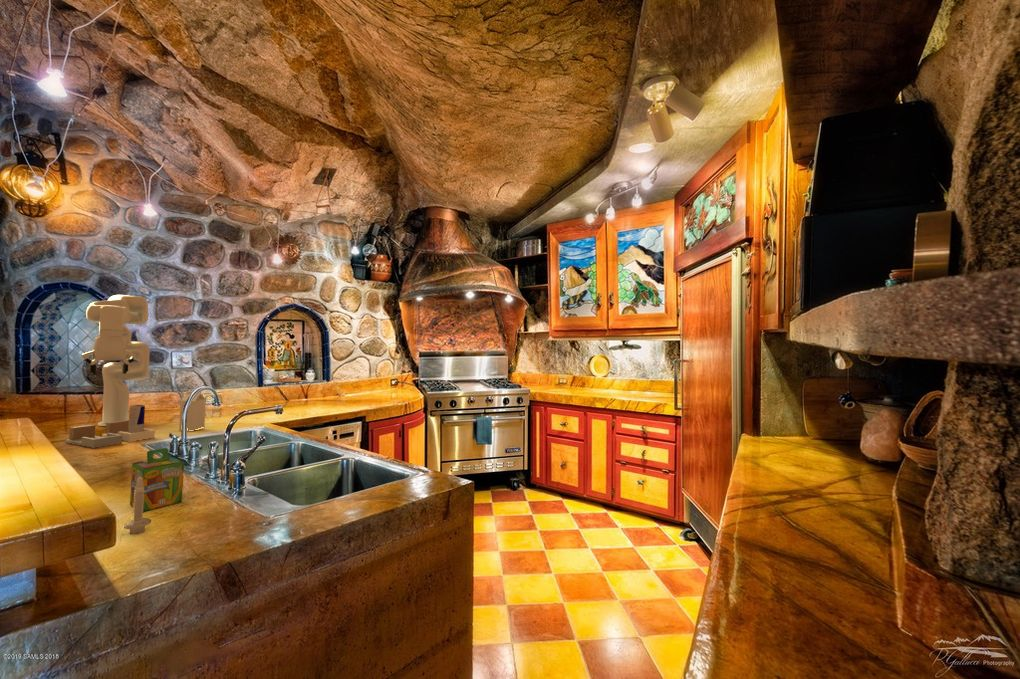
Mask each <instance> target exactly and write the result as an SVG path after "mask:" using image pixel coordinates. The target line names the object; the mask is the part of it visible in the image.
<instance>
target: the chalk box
mask: <svg viewBox="0 0 1020 679" xmlns="http://www.w3.org/2000/svg"><path fill="white" fill-rule="evenodd" d="M156 454H161V455H162V456H161V457H158V458H154V455H156ZM146 458H147V459H146V460H139V461H136V462H135V461H134V462H132V463H131V481H130V497H129V498H130V501H129V505H130V506H132V507H133V508H134V504H133V503H134V502H135V501H134V500H135V499H134V498H135V496H134V495H135V494H134V493H135V491H134V490H135V489H136V483H137V478H139V477H142V478H143V487H144V490H145V491H144V494H143V495H144V496H143V497H144V499H143V500H144V501H143V502H144V504H143V505H144V506H143V507H144V508H143V510H144V511H143V512H147V511H151V510H154V509H160V508H164V507H169V506H171V505H172V504H173V505H176V503H177V504H180V503H182V502H183V501H182V500H183V488H184V487H183V486H184V485H183V484H184V483H183V482H184V470H185V462H184V461H183V460H180V459H179V458H176V457H173V456H169V449H168V448H167V447H165V448H158V449H157V448H156V449H152V450H148V451H147V453H146ZM173 505H172V506H173Z"/></svg>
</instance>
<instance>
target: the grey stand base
mask: <svg viewBox="0 0 1020 679" xmlns="http://www.w3.org/2000/svg"><path fill="white" fill-rule="evenodd" d="M68 432H69V434H68V439H65V442H66V443H65V444H70V443H72V444H71V445H75V444H77V445H76V446H79V445H82V446H81V447H84V446H87V447H86V448H89V447H91V449H96V448H95V447H98V448H103V447H102V446H104V447H109V446H108V445H110V446H114V444H116V445H120V443H121V444H122V443H123V441H122V435H118V434H113V433H107V437H102V436H99V435H96V424H86V425H78V426H69V431H68Z"/></svg>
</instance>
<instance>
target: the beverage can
mask: <svg viewBox="0 0 1020 679" xmlns="http://www.w3.org/2000/svg"><path fill="white" fill-rule="evenodd" d="M145 411H146V405H145V404H133V405H129V409H128V420H129V427H128V433H136V432H143V431H144V428H145V413H146V412H145Z"/></svg>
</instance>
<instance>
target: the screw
mask: <svg viewBox="0 0 1020 679" xmlns="http://www.w3.org/2000/svg"><path fill="white" fill-rule="evenodd" d="M134 491H135V493H134V494H135V495H134V496H135V498H134V499H135V500H134V501H135V502H134V503H133V504H134V507H133V512H132V514H133V515H132V517H133V518H132V520H129V521H127V522H126V523H125V524H124V525H123V528H124V530H125V529H126V530H129V534H130V535H138V534H141V533H144V532H145V530H146V527H147V525H150V524H152V519H150V518H148V517H144V512H145V511H144V510H143V508H144V507H143V506H144V505H143V504H144V502H143V501H144V500H143V499H144V497H143V496H144V495H143V494H144V491H145V490H144V487H143V478H142V477H139V478H137V483H136V489H135V490H134ZM143 531H144V532H143ZM140 532H141V533H140ZM137 533H138V534H137Z"/></svg>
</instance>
